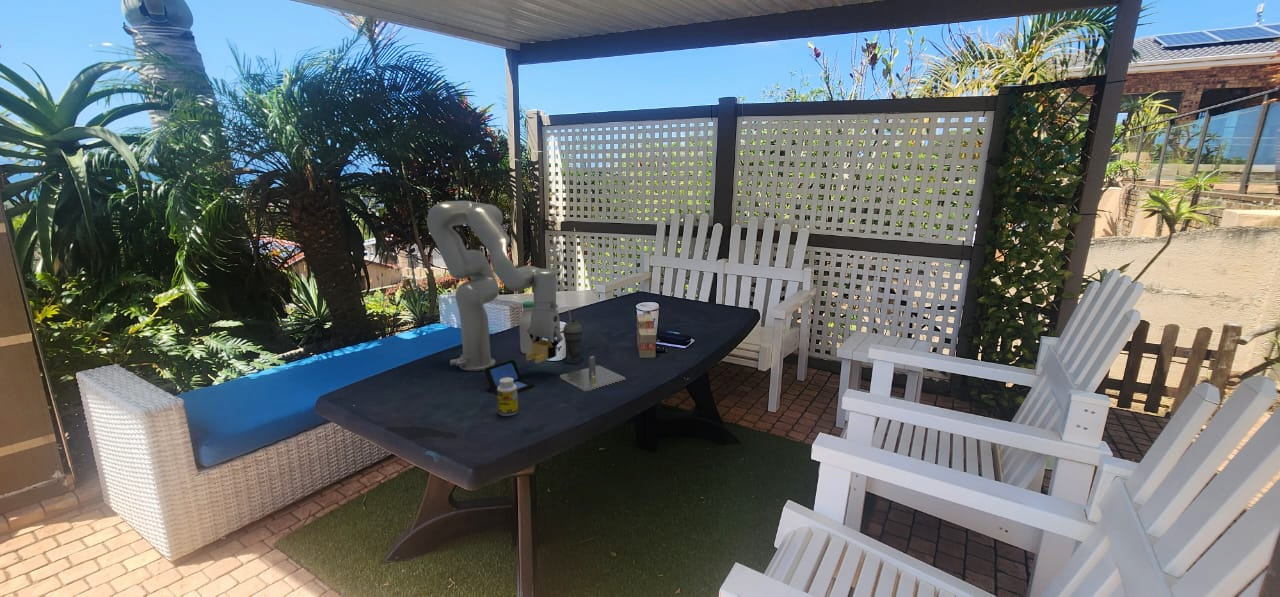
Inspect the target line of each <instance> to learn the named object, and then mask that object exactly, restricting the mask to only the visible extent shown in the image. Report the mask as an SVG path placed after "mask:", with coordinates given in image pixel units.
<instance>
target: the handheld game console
mask: <svg viewBox="0 0 1280 597" xmlns="http://www.w3.org/2000/svg"><path fill="white" fill-rule="evenodd" d="M483 371H484V375H485V377H486V379H487V382H488V385H489V388H491V389H490V392H491V393H492V394H496V395H497V387H498V386H499V385H500V379H502V378H507V377H509V378H513V379H514V384H515V385H516V386H517V394H519V393H521V392H524V391H526V390H528V389H529V390H530V389H531V388H534V387H535V382H531V381H530V380H526V379H523V377H522V375H521V373H520V370H519V368H518V366H517V363H516V360H514V359H511V360H508V361H504V362H502V363H498V364H495V365H494V366H492V367H489V368H486V369H485V370H483Z"/></svg>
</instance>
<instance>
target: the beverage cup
mask: <svg viewBox="0 0 1280 597" xmlns="http://www.w3.org/2000/svg"><path fill="white" fill-rule="evenodd" d="M567 312H568V318H569V321H567V322H566V323H565V324H564V326H563V330H562V332H563V339H564V342H565V350H566V359H567V362H568V363H569V364H578V363H579V362H580V361H581V354H582V352H581V350H582V337H583V326H582V325H581V324H580V323H579V322H578V321H576V320H572V316H571V310H570V309H567Z"/></svg>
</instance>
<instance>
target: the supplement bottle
mask: <svg viewBox="0 0 1280 597" xmlns="http://www.w3.org/2000/svg"><path fill="white" fill-rule="evenodd" d="M496 395H497V406H498V407H497V408H498V413H499V415H500V416H502V417H510V416H511V417H512V416H513V415H516V414H517V413H518V411H519V402H518V399H519V398H518V393H517V386H516V385H515V384H514V379H513V378H509V377H507V378H502V379H500V385H499V386H498V387H497V394H496Z"/></svg>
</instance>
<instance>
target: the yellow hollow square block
mask: <svg viewBox="0 0 1280 597" xmlns="http://www.w3.org/2000/svg"><path fill="white" fill-rule="evenodd" d="M552 343H553V340H552ZM557 346H558V345H557ZM557 346H556V354H555V357H557V353H558V352H557V350H558V349H557V348H558V347H557ZM548 347H550V346H549V343H548V339H544V338H542V339H540V341H537V342H534V343H532V352H531V353H529V354H525V360H526V361H530V360H533V359H534V363H535V364H538V363H541V362H544V361H545V362H546V361H548V360H551V359H552V358H548ZM555 357H554V358H555Z"/></svg>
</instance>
